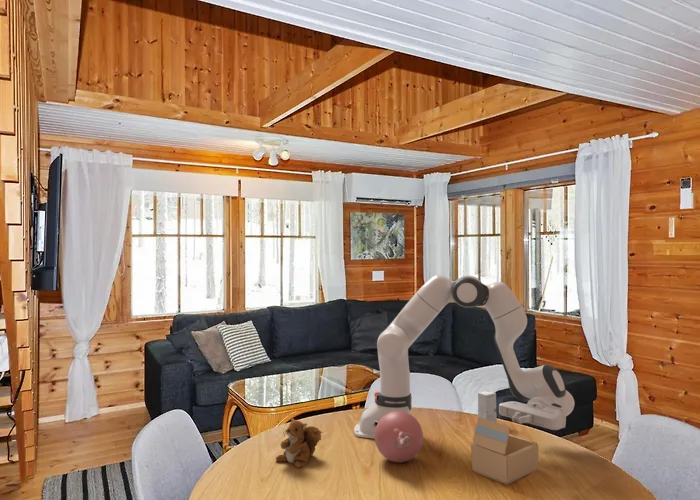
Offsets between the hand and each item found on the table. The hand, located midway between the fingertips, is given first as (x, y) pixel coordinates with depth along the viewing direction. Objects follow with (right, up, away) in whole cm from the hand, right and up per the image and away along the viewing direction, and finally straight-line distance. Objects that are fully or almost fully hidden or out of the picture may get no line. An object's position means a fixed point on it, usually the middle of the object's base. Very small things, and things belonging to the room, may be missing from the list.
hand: (515, 419), depth 156 cm
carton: (-5, -14, -4) cm, 15 cm away
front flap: (-10, -2, -8) cm, 13 cm away
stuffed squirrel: (-68, -15, +6) cm, 69 cm away
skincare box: (+2, -15, +38) cm, 41 cm away
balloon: (-36, -15, +2) cm, 39 cm away
